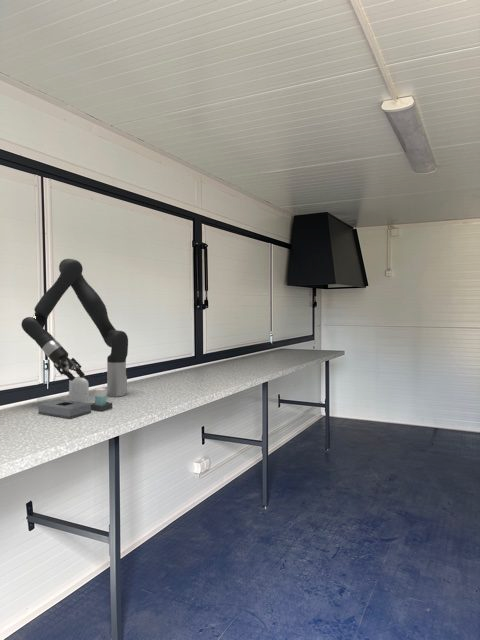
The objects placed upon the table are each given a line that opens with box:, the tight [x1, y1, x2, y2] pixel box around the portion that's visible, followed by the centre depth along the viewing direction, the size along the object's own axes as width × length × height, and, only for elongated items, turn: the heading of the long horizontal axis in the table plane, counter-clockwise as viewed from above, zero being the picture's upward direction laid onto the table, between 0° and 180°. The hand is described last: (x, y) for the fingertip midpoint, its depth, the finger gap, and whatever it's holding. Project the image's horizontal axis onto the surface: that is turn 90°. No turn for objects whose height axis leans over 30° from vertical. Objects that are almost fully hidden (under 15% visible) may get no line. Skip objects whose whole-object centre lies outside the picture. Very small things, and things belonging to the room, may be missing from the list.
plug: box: [94, 387, 108, 405], centre depth 204 cm, size 4×4×9 cm
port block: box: [37, 398, 92, 420], centre depth 195 cm, size 12×18×4 cm, turn 65°
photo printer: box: [68, 376, 90, 403], centre depth 214 cm, size 10×4×12 cm, turn 60°
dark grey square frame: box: [91, 401, 113, 412], centre depth 204 cm, size 7×7×2 cm
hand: (78, 378), depth 205 cm, fingers open, 8 cm apart
